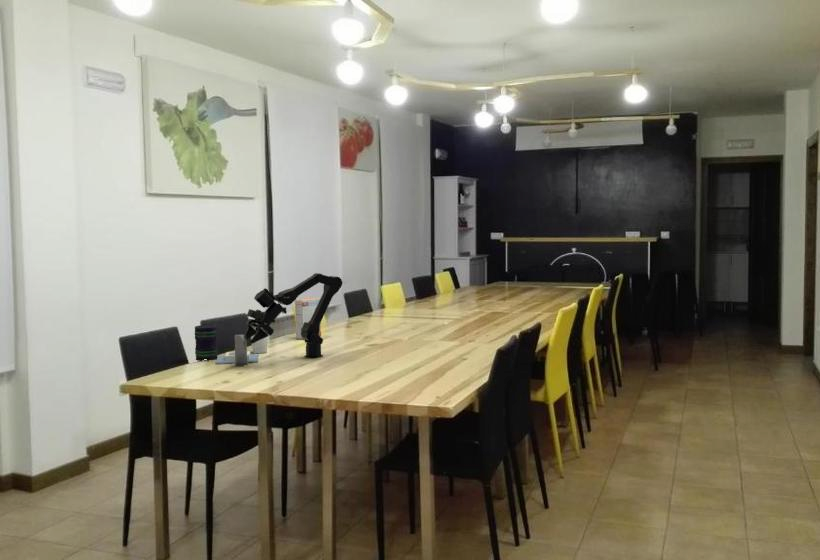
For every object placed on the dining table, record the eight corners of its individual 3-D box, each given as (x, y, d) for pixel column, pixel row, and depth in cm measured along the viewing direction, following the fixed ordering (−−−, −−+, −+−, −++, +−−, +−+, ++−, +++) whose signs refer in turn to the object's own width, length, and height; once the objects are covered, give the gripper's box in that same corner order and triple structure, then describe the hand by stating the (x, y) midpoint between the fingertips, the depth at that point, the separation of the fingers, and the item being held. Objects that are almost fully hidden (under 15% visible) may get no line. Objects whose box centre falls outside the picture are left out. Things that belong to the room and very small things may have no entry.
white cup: (264, 354, 346) (263, 333, 345) (248, 353, 348) (247, 332, 347) (270, 351, 354) (270, 330, 353) (255, 350, 355) (254, 330, 355)
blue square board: (258, 355, 342) (258, 349, 342) (257, 362, 324) (257, 356, 324) (218, 357, 339) (218, 351, 339) (215, 364, 321) (215, 358, 321)
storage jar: (205, 361, 328) (204, 328, 327) (190, 359, 333) (189, 327, 332) (222, 358, 336) (221, 325, 335) (207, 356, 342) (206, 324, 340)
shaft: (249, 364, 320) (248, 335, 319) (240, 366, 315) (240, 336, 314) (241, 363, 322) (240, 334, 321) (232, 365, 318) (232, 335, 317)
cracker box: (313, 335, 402) (312, 297, 400) (321, 336, 399) (320, 298, 397) (295, 339, 391) (294, 299, 389) (303, 340, 387) (302, 300, 386)
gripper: (250, 300, 329) (226, 327, 324) (266, 304, 314) (241, 332, 308) (267, 317, 334) (244, 343, 329) (283, 321, 318) (260, 349, 313)
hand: (247, 341), depth 320 cm, fingers open, 9 cm apart
